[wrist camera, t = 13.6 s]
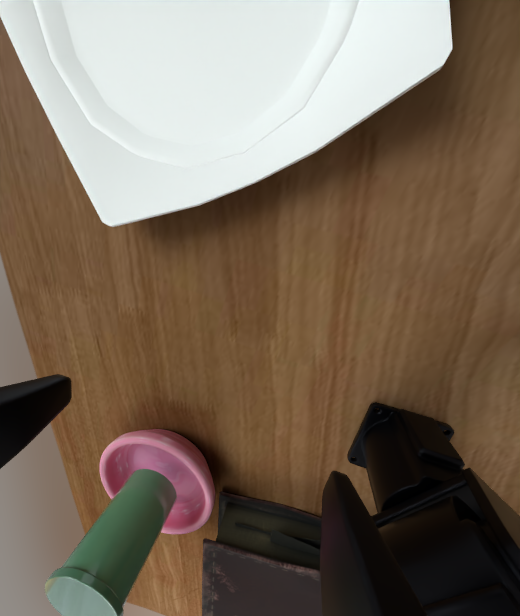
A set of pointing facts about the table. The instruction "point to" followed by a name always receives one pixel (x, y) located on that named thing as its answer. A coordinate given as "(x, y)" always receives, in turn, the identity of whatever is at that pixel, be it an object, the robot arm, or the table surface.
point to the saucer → (163, 473)
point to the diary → (262, 561)
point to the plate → (213, 86)
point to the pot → (114, 549)
